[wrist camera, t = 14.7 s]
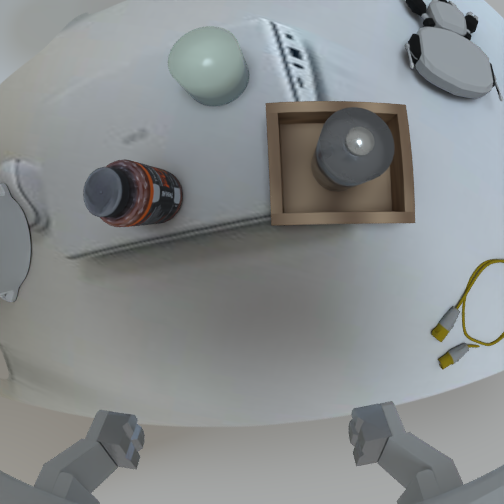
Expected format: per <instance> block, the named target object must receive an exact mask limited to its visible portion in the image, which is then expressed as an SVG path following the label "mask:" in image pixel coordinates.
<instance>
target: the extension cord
mask: <svg viewBox="0 0 504 504" xmlns="http://www.w3.org/2000/svg"><path fill="white" fill-rule="evenodd" d="M499 262H502V263H504V260H499V259H492V260H487V261H485V262H483V263H482V264H480V265H479V266H478V267H477V268H476V270H475V271H474V272H473V274H472V276H471V277H470V280H469V282H468V284H467V287H466V290H465V294H464V295H463V297H462V299H461V300H460V302H459V304H458V305H457V307H456V308H455V307H454V306H453V308H451V309H450V310H449V311H448V312H447V313H446V314H445V316H444V317H443V318H442V319H441V320H440V322H439V323H438V325H437V326H436V328H435V329H434V330H433V331H432V335H433V336H434V337H435V338H436V339H437V340H439V341H440V342H442V341H443V340H444V338H445V337H446V336H447V334H448V333H449V331H450V330H451V329H452V327H453V325H454V323H455V322H456V319H457V317H458V315H459V313H460V311H459V310H458V308H459V307H460V305H461V304H462V302H463V306H462V325H463V331H464V334H465V336H466V337H467V338H468V339H470V340H471V341H474V342H476V343H479V344H482V345H485V346H491V345H494V344H496V343H497V342H499V341H500V340H501V339H503V338H504V332H503V333H502V335H501V336H500V337H499V338H498V339H496V340H495V341H493V342H491V343H489V344H488V343H484V342H481V341H478V340H476V339H473V338H471V337H470V336H469V335H468V334H467V332H466V329H465V301H466V296H467V294H468V292H469V290H470V289H471V287H472V285H473V284H474V282H475V281H476V279H477V277H478V276H479V275H480V273H481V272H482V271H483V270H484V269H485V268H486V267H487V266H489V265H490V264H493V263H499ZM483 265H484V266H483ZM482 266H483V267H482ZM481 267H482V268H481ZM480 268H481V269H480ZM479 269H480V270H479ZM478 270H479V272H478V273H477V274H476V272H477V271H478ZM475 274H476V276H475V277H474V275H475ZM473 277H474V279H473ZM472 279H473V281H472ZM471 281H472V282H471ZM470 283H471V284H470ZM469 347H480V346H479V345H467V344H466V343H464V344H462V345H460V346H457V347H455V348H453V349H451V350H450V351H448V352H447V354H445V355H444V356H442V357H441V358H439V359H438V360H439V361H440V363H441V364H439V365H440V367H441V368H442V369H445V368H446V367H448V366H449V365H451V364H454V363H455V362H457V361H459V359H460V358H461V357H462V356H463V355H464V354H465V353H466V352H467V351H469Z"/></svg>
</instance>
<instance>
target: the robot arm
mask: <svg viewBox="0 0 504 504" xmlns="http://www.w3.org/2000/svg"><path fill="white" fill-rule="evenodd" d="M30 255H31V244H30V234H29V229H28V225H27V221H26V218H25V215H24V213H23V211H22V209H21V208H20V206H19V205H18V203H17V202H16V201H15V200H14V199H13V198H12V197H11V196H10V193H9V190H8V188H7V186H6V184H5V183H1V184H0V298H2V299H4V300H6V301H8V302H14V301H15V300H16V298H17V293H18V288H19V286H20V285H21V283H22V282H23V281H24V279H25V277H26V275H27V272H28V268H29V264H30ZM351 415H352V418H353V419H352V420H351V421H350V423H349V438H350V443H351V444H352V445H353V446H355V448H354V451H353V455H354V459H355V463H356V466H360V465H366V464H370V463H376V462H378V464H379V465H380V466H381V467H382V468H383V469H385V470H386V471H387V472H388V473H389V474H390V475H391V476H392V477H393V478H394V479H396V480H397V481H398V482H399V483H400V484H401V485H402V486H404V487H405V488H406V490H405V491H404V493H403V494H402V495H401V496H400V498H399V499H398V500H397V503H398V504H504V465H503V466H501V467H499V468H497V469H495V470H493V471H491V472H489V473H487V474H485V475H483V476H481V477H480V478H477V479H475V480H473V481H471V482H469V483H467V484H464V485H463V482H462V480H461V478H460V475H459V473H458V471H457V468H456V466H455V464H454V461H453V460H452V459H451V458H449V457H448V456H446V455H444V454H443V453H441V452H440V451H438V450H436V449H435V448H433V447H432V446H430V445H429V444H427V443H426V442H424V441H422V440H421V439H419V438H418V437H416V436H415V435H413V434H412V433H410V432H408V433H406V431H405V429H404V427H403V424H402V422H401V419H400V417H399V414H398V412H397V410H396V407H395V405H394V403H393V402H392V401H390V402H385V403H381V404H374V405H369V406H364V407H358V408H354V409H353V410H352V414H351ZM137 421H138V420H137V418H136V416H135V415H132V414H124V413H118V412H112V411H105V410H99V411H98V412H97V414H96V416H95V418H94V420H93V423H92V425H91V427H90V429H89V431H88V433H87V436H86V438H85V439H81V440H79V441H78V442H76V443H75V444H73V445H72V446H71V447H69V448H68V449H66V450H65V451H63V452H62V453H60V454H59V455H57V456H56V457H54V458H53V459H51V460H50V461H48V462H47V463H45V464H44V465H43V468H42V470H41V472H40V474H39V476H38V478H37V481H36V483H35V485H34V487H33V486H31V485H29V484H27V483H24V482H22V481H20V480H18V479H16V478H14V477H12V476H10V475H8V474H6V473H4V472H2V471H0V504H100V503H99V501H98V500H97V499H96V498H95V497H94V496H93V495H92V494H91V493H92V492H93V491H94V490H95V489H96V488H97V487H98V486H99V485H100V484H101V483H102V482H103V481H104V480H105V479H106V478H107V477H109V475H110V474H112V473H113V472H114V471H115V470H116V469H117V468H118V467H117V466H119V467H125V468H131V469H137V466H138V462H139V459H140V455H139V453H138V451H139V450H141V449H142V448H143V445H144V431H143V429H142V427H141V426H139V425H138V424H137Z"/></svg>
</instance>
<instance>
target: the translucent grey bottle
mask: <svg viewBox="0 0 504 504" xmlns="http://www.w3.org/2000/svg"><path fill="white" fill-rule="evenodd" d="M393 156H394V139H393V136H392V133H391V131H390V129H389V127H388V126H387V124H386V123H385V122H384V121H383V120H382V119H381V118H380V117H379V116H378V115H376V114H375V113H373V112H371V111H369V110H367V109H363V108H358V107H349V108H344V109H341V110H339V111H337V112H335V113H334V114H332V115H331V116H330V117H329V118H328V119H327V120H326V122H325V123H324V125H323V128H322V130H321V133H320V136H319V140H318V143H317V146H316V149H315V152H314V155H313V158H312V162H311V168H312V173H313V176H314V178H315V179H316V181H317V182H318V183H319V184H320V185H321V186H322V187H324V188H325V189H327V190H330V191H337V192H338V191H344V190H347V189H350V188H352V187H355V186H357V185H360V184H362V183H365V182H368V181H370V180H373V179H375V178H377V177H379V176H380V175H382V174H383V173H384V172H385V171H386V170H387V169H388V168H389V166H390V164H391V162H392V160H393Z"/></svg>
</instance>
